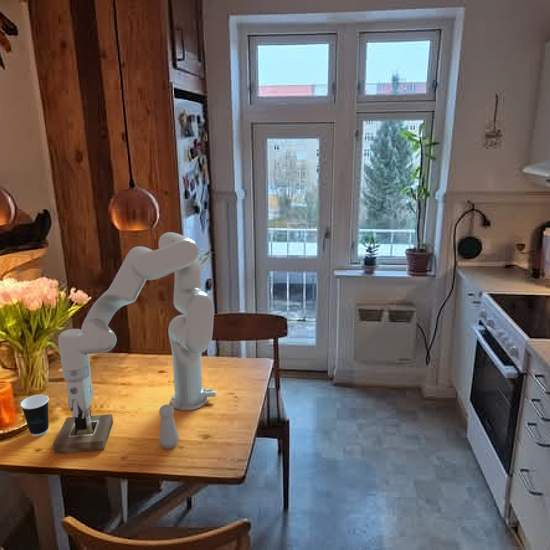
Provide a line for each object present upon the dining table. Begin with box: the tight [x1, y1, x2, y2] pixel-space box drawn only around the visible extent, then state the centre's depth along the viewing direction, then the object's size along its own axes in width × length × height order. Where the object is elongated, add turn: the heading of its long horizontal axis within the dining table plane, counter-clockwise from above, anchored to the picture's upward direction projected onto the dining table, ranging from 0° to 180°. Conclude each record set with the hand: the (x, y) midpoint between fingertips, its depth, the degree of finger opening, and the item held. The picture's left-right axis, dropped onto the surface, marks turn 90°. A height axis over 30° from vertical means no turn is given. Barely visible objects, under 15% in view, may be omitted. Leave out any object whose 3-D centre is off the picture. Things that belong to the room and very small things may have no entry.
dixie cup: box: [19, 394, 50, 438], centre depth 148 cm, size 8×8×11 cm
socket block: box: [52, 413, 114, 455], centre depth 146 cm, size 14×14×3 cm
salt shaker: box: [158, 404, 179, 450], centre depth 142 cm, size 6×6×13 cm
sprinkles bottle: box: [76, 407, 94, 435], centre depth 144 cm, size 5×5×14 cm
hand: (83, 423), depth 145 cm, fingers closed on sprinkles bottle, 4 cm apart
